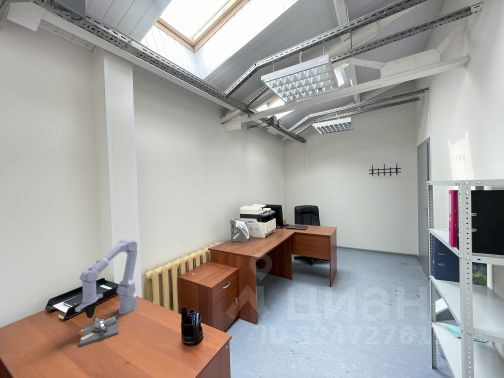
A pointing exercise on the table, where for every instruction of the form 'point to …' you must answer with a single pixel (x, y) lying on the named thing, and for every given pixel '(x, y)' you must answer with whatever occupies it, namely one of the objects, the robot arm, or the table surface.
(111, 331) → the stand plate
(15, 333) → the table surface
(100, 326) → the silver metal piece
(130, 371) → the table surface
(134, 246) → the robot arm
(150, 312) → the table surface
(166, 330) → the table surface
